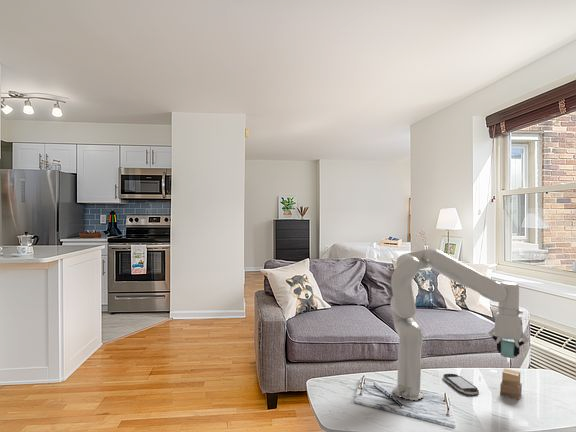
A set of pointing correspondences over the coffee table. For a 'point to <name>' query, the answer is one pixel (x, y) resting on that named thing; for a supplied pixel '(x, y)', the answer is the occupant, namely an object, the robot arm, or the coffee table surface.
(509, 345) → the teal rounded tapered object
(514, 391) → the tower bottom
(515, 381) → the tower top
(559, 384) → the coffee table surface
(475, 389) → the gaming console
